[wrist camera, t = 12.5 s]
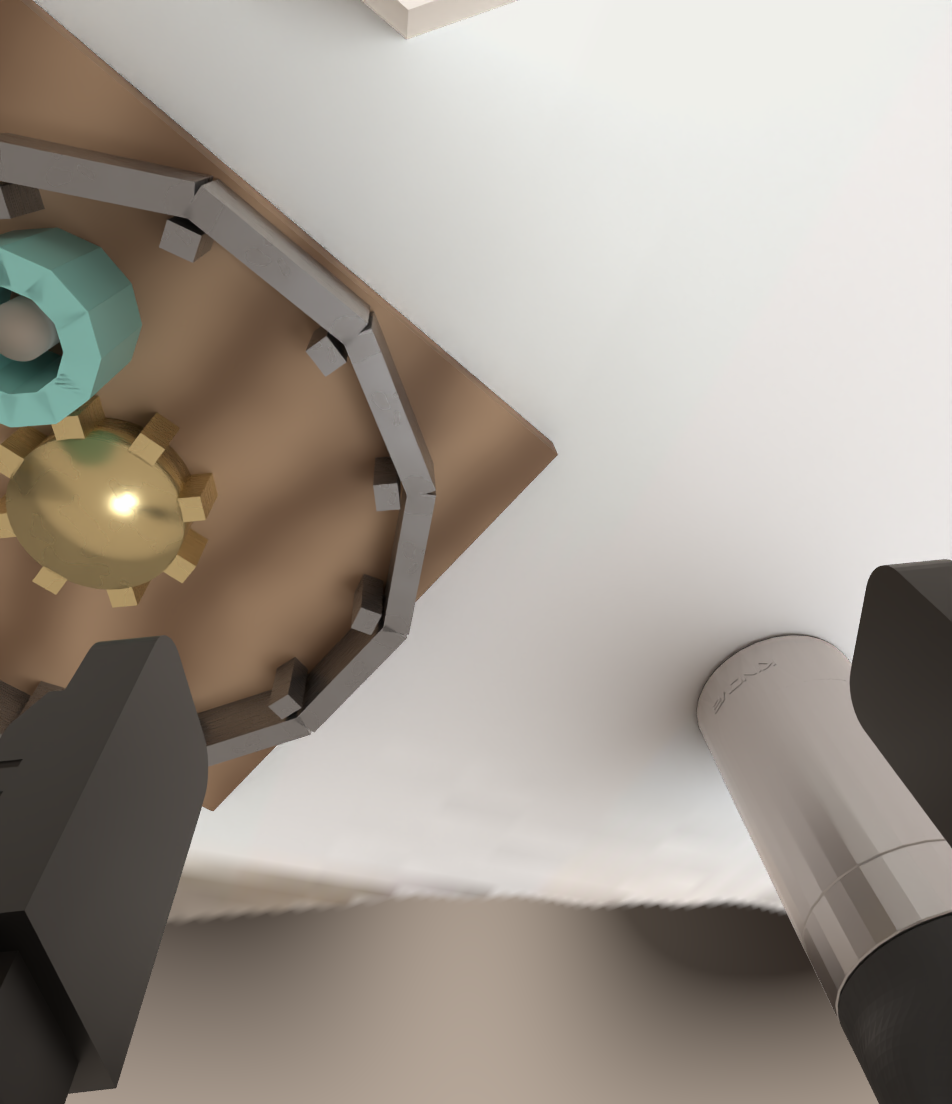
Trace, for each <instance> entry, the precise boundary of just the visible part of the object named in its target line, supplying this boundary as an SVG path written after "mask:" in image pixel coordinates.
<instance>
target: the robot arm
mask: <svg viewBox="0 0 952 1104" xmlns="http://www.w3.org/2000/svg"><path fill="white" fill-rule="evenodd" d="M697 719H698V726H699V728H700V730H701V733H702V735H703V737H704V739H705V742H706V744H707V746H708V748H709V750H710V752H711V754H712V756H713V758H714V761H715V763H716V765H717V767H718V769H719V771H720V773H721V775H722V778H723V780H724V782H725V784H726V787H727V789H728V791H729V793H730V795H731V797H732V799H733V801H734V803H735V805H736V807H737V810H738V812H739V814H740V816H741V818H742V820H743V822H744V824H745V826H746V828H747V831H748V833H749V835H750V837H751V839H752V841H753V843H754V845H755V847H756V849H757V851H758V854H759V856H760V858H761V860H762V862H763V864H764V866H765V868H766V870H767V872H768V874H769V877H770V879H771V881H772V883H773V885H774V887H775V889H776V891H777V893H778V895H779V898H780V900H781V902H782V904H783V906H784V908H785V910H786V912H787V914H788V916H789V918H790V921H791V923H792V925H793V927H794V929H795V931H796V933H797V935H798V937H799V939H800V942H801V944H802V946H803V948H804V950H805V952H806V953H807V955H808V957H809V960H810V962H811V964H812V966H813V968H814V970H815V972H816V974H817V976H818V978H819V980H820V982H821V985H822V987H823V989H824V991H825V993H826V995H827V997H828V999H829V1001H830V1003H831V1006H832V1007H833V1010H834V1012H835V1014H836V1016H837V1018H838V1020H839V1021H840V1024H841V1027H842V1029H843V1031H844V1033H845V1035H846V1037H847V1039H848V1041H849V1043H850V1045H851V1047H852V1049H853V1051H854V1053H855V1055H856V1057H857V1059H858V1061H859V1063H860V1065H861V1067H862V1069H863V1071H864V1073H865V1075H866V1077H867V1080H868V1081H869V1084H870V1086H871V1088H872V1090H873V1092H874V1094H875V1096H876V1098H877V1100H878V1102H879V1104H952V560H947V559H943V560H933V561H923V562H913V563H903V564H893V565H883V566H879V567H877V568H876V569H875V570H874V571H873V572H872V574H871V575H870V577H869V580H868V583H867V587H866V592H865V597H864V602H863V608H862V613H861V618H860V624H859V629H858V634H857V640H856V645H855V650H854V655H853V661H852V664H851V662H850V661H849V660H848V659H847V657H846V656H845V655H844V654H843V653H842V652H841V651H840V650H838V649H837V648H836V647H835V646H833V645H831V644H829V643H828V642H826V641H824V640H821V639H817V638H813V637H809V636H796V635H789V636H781V637H774V638H770V639H767V640H764V641H760V642H757V643H755V644H753V645H751V646H749V647H746V648H744V649H742V650H740V651H739V652H737V653H736V654H734V655H733V656H732V657H730V658H729V659H727V660H726V661H725V662H724V663H723V664H722V665H721V666H720V667H719V668H718V669H717V670H716V671H715V672H714V673H713V674H712V675H711V677H710V678H709V680H708V681H707V683H706V684H705V686H704V688H703V690H702V693H701V695H700V698H699V701H698V707H697ZM207 782H208V754H207V747H206V742H205V738H204V734H203V731H202V728H201V724H200V721H199V718H198V715H197V711H196V708H195V705H194V702H193V698H192V695H191V692H190V688H189V685H188V682H187V679H186V675H185V672H184V669H183V665H182V662H181V659H180V656H179V653H178V650H177V647H176V645H175V643H174V642H173V640H172V639H171V638H170V637H168V636H166V635H161V636H151V637H141V638H131V639H121V640H111V641H101V642H97V643H95V644H94V645H93V646H92V647H91V648H90V649H89V651H88V652H87V654H86V656H85V657H84V659H83V661H82V662H81V664H80V666H79V667H78V669H77V671H76V672H75V674H74V676H73V677H72V679H71V680H70V682H69V684H68V685H67V687H66V689H65V690H61V691H51V692H48V693H47V694H46V695H44V696H43V697H42V698H41V699H40V700H38V701H37V702H36V703H35V704H34V705H32V706H31V707H30V708H29V709H28V710H26V711H25V712H24V713H23V714H22V715H20V716H19V717H18V718H17V719H16V720H14V721H13V722H12V723H11V724H10V725H8V727H7V728H6V730H5V731H4V733H3V734H2V736H1V737H0V1104H64V1103H65V1101H66V1098H67V1095H68V1094H70V1093H78V1092H87V1091H95V1090H104V1089H113V1088H116V1087H117V1083H118V1080H119V1077H120V1074H121V1070H122V1067H123V1064H124V1061H125V1057H126V1054H127V1051H128V1047H129V1044H130V1041H131V1038H132V1034H133V1031H134V1027H135V1024H136V1021H137V1018H138V1014H139V1011H140V1008H141V1005H142V1002H143V998H144V995H145V992H146V988H147V985H148V982H149V978H150V975H151V972H152V968H153V965H154V962H155V959H156V956H157V952H158V949H159V946H160V942H161V939H162V936H163V933H164V929H165V926H166V923H167V919H168V916H169V913H170V910H171V906H172V903H173V900H174V896H175V893H176V890H177V887H178V883H179V880H180V877H181V873H182V870H183V867H184V864H185V860H186V857H187V854H188V850H189V847H190V844H191V841H192V837H193V834H194V831H195V827H196V824H197V821H198V818H199V814H200V811H201V808H202V804H203V801H204V798H205V794H206V789H207Z"/></svg>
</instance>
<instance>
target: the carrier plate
mask: <svg viewBox="0 0 952 1104" xmlns="http://www.w3.org/2000/svg"><path fill="white" fill-rule="evenodd" d="M0 133H12V134H16V135H21V136H26V137H31V138H35V139H40V140H45V141H50V142H55V143H59V144H64V145H69V146H74V147H78V148H83V149H88V150H93V151H97V152H102V153H107V154H112V155H117V156H121V157H126V158H131V159H136V160H140V161H145V162H150V163H155V164H159V165H164V166H169V167H174V168H179V169H183V170H188V171H193V172H198V173H202V174H207V175H212V176H213V181H215V180H217V179H220V180H221V181H222V182H224V183H225V184H226V185H227V186H228V187H230V188H231V189H232V190H233V191H234V192H235V193H237V194H238V195H239V196H240V197H241V198H243V199H244V200H245V201H246V202H247V203H249V204H250V205H251V206H252V207H253V208H255V209H256V210H257V211H258V212H259V213H261V214H262V215H263V216H264V217H265V218H266V219H268V220H269V221H270V222H271V223H272V224H274V225H275V226H276V227H277V228H278V229H280V230H281V231H282V232H283V233H284V234H286V235H287V236H288V237H289V238H290V239H291V240H293V241H294V242H295V243H296V244H297V245H299V246H300V247H301V248H302V249H303V250H305V251H306V252H307V253H308V254H309V255H311V256H312V257H313V258H314V259H315V260H316V261H318V262H319V263H320V264H321V265H322V266H324V267H325V268H326V269H327V270H328V271H330V272H331V273H332V274H333V275H334V276H336V277H337V278H338V279H339V280H340V281H341V282H343V283H344V284H345V285H346V286H347V287H349V288H350V289H351V290H352V291H353V292H355V293H356V294H357V295H358V296H359V297H361V298H362V299H363V300H364V301H365V302H366V303H368V304H369V305H370V312H372V311H374V312H375V314H376V317H377V320H378V322H379V325H380V327H381V330H382V332H383V335H384V338H385V340H386V343H387V345H388V348H389V350H390V353H391V356H392V358H393V361H394V363H395V366H396V368H397V371H398V373H399V376H400V379H401V381H402V384H403V386H404V389H405V391H406V394H407V397H408V399H409V402H410V404H411V407H412V409H413V412H414V414H415V417H416V420H417V422H418V425H419V427H420V430H421V432H422V435H423V438H424V440H425V443H426V445H427V448H428V450H429V453H430V455H431V458H432V461H433V464H434V476H435V487H436V499H435V504H434V509H433V514H432V520H431V525H430V530H429V535H428V540H427V545H426V550H425V555H424V560H423V565H422V570H421V575H420V580H419V585H418V590H417V595H416V600H415V602H416V601H417V600H418V599H419V598H420V597H421V596H422V595H423V594H424V593H425V592H426V591H427V589H428V588H429V587H430V586H431V585H432V584H433V583H434V582H435V581H436V580H437V579H438V578H439V577H440V576H441V575H442V574H443V573H444V572H445V571H446V570H447V569H448V568H449V567H450V566H451V565H452V564H453V563H454V562H455V561H456V559H457V558H458V557H459V556H460V555H461V554H462V553H463V552H464V551H465V550H466V549H467V548H468V547H469V546H470V545H471V544H472V543H473V542H474V541H475V540H476V539H477V538H478V537H479V536H480V535H481V534H482V533H483V532H484V531H485V529H486V528H487V527H488V526H489V525H490V524H491V523H492V522H493V521H494V520H495V519H496V518H497V517H498V516H499V515H500V514H501V513H502V512H503V511H504V510H505V509H506V508H507V507H508V506H509V505H510V504H511V503H512V502H513V501H514V499H515V498H516V497H517V496H518V495H519V494H520V493H521V492H522V491H523V490H524V489H525V488H526V487H527V486H528V485H529V484H530V483H531V482H532V481H533V480H534V479H535V478H536V477H537V476H538V475H539V474H540V473H541V472H542V471H543V469H544V468H545V467H546V466H547V465H548V464H549V463H550V462H551V461H552V460H553V459H554V458H555V457H556V456H557V455H558V454H557V452H556V449H555V447H554V445H553V443H552V442H551V441H550V440H549V439H548V438H547V437H545V436H544V435H543V434H542V433H541V432H539V431H538V430H537V429H536V428H535V427H534V426H532V425H531V424H530V423H529V422H528V421H527V420H525V419H524V418H523V417H522V416H521V415H519V414H518V413H517V412H516V411H515V410H514V409H512V408H511V407H510V406H509V405H508V404H507V403H505V402H504V401H503V400H502V399H501V398H499V397H498V396H497V395H496V394H495V393H494V392H492V391H491V390H490V389H489V388H488V387H487V386H485V385H484V384H483V383H482V382H481V381H479V380H478V379H477V378H476V377H475V376H474V375H472V374H471V373H470V372H469V371H468V370H467V369H465V368H464V367H463V366H462V365H461V364H459V363H458V362H457V361H456V360H455V359H454V358H452V357H451V356H450V355H449V354H448V353H447V352H445V351H444V350H443V349H442V348H441V347H439V346H438V345H437V344H436V343H435V342H434V341H432V340H431V339H430V338H429V337H428V336H427V335H425V334H424V333H423V332H422V331H421V330H419V329H418V328H417V327H416V326H415V325H414V324H412V323H411V322H410V321H409V320H408V319H407V318H405V317H404V316H403V315H402V314H401V313H399V312H398V311H397V310H396V309H395V308H394V307H392V306H391V305H390V304H389V303H388V302H387V301H385V300H384V299H383V298H382V297H381V296H380V295H378V294H377V293H376V292H375V291H374V290H372V289H371V288H370V287H369V286H368V285H367V284H365V283H364V282H363V281H362V280H361V279H360V278H358V277H357V276H356V275H355V274H354V273H352V272H351V271H350V270H349V269H348V268H347V267H345V266H344V265H343V264H342V263H341V262H340V261H338V260H337V259H336V258H335V257H334V256H332V255H331V254H330V253H329V252H328V251H327V250H325V249H324V248H323V247H322V246H321V245H320V244H318V243H317V242H316V241H315V240H314V239H312V238H311V237H310V236H309V235H308V234H307V233H305V232H304V231H303V230H302V229H301V228H300V227H298V226H297V225H296V224H295V223H294V222H292V221H291V220H290V219H289V218H288V217H287V216H285V215H284V214H283V213H282V212H281V211H280V210H278V209H277V208H276V207H275V206H274V205H272V204H271V203H270V202H269V201H268V200H267V199H265V198H264V197H263V196H262V195H261V194H260V193H258V192H257V191H256V190H255V189H254V188H252V187H251V186H250V185H249V184H248V183H247V182H245V181H244V180H243V179H242V178H241V177H240V176H238V175H237V174H236V173H235V172H234V171H232V170H231V169H230V168H229V167H228V166H227V165H225V164H224V163H223V162H222V161H221V160H220V159H218V158H217V157H216V156H215V155H214V154H212V153H211V152H210V151H209V150H208V149H207V148H205V147H204V146H203V145H202V144H201V143H200V142H198V141H197V140H196V139H195V138H194V137H192V136H191V135H190V134H189V133H188V132H187V131H185V130H184V129H183V128H182V127H181V126H180V125H178V124H177V123H176V122H175V121H174V120H172V119H171V118H170V117H169V116H168V115H167V114H165V113H164V112H163V111H162V110H161V109H160V108H158V107H157V106H156V105H155V104H154V103H153V102H151V101H150V100H149V99H148V98H147V97H145V96H144V95H143V94H142V93H141V92H140V91H138V90H137V89H136V88H135V87H134V86H133V85H131V84H130V83H129V82H128V81H127V80H125V79H124V78H123V77H122V76H121V75H120V74H118V73H117V72H116V71H115V70H114V69H113V68H111V67H110V66H109V65H108V64H107V63H105V62H104V61H103V60H102V59H101V58H100V57H98V56H97V55H96V54H95V53H94V52H93V51H91V50H90V49H89V48H88V47H87V46H85V45H84V44H83V43H82V42H81V41H80V40H78V39H77V38H76V37H75V36H74V35H73V34H71V33H70V32H69V31H68V30H67V29H65V28H64V27H63V26H62V25H61V24H60V23H58V22H57V21H56V20H55V19H54V18H53V17H51V16H50V15H49V14H48V13H47V12H45V11H44V10H43V9H42V8H41V7H40V6H38V5H37V4H36V3H35V2H34V1H33V0H0ZM0 182H3V181H0ZM39 191H40V195H41V198H42V201H43V205H44V208H45V209H43V210H39V211H36V212H32V213H28V214H25V215H21V216H18V217H14V218H11V219H0V234H4V233H7V232H10V231H13V230H26V229H40V228H55V227H58V228H60V229H62V230H64V231H66V232H69V233H71V234H73V235H75V236H77V237H79V238H82V239H84V240H86V241H88V242H90V243H93V244H95V245H97V246H99V247H101V248H102V249H103V250H104V252H105V253H106V254H107V255H108V256H109V257H110V259H111V260H112V261H113V262H114V263H115V264H116V266H117V267H118V268H119V269H120V270H121V271H122V273H123V274H124V275H125V276H126V277H127V279H128V280H129V281H130V282H131V284H132V287H133V290H134V294H135V298H136V302H137V306H138V310H139V314H140V318H141V322H142V327H141V331H140V334H139V337H138V340H137V344H136V347H135V350H134V353H133V356H132V360H131V361H130V362H129V363H128V364H127V365H126V366H125V367H124V368H123V369H122V370H121V371H119V372H118V373H117V374H116V375H115V376H114V377H113V378H112V379H111V380H110V381H109V382H108V383H107V384H105V385H104V386H103V387H102V388H101V389H100V390H99V391H98V392H97V393H96V394H95V395H94V396H99V397H100V401H101V404H102V407H103V411H104V414H105V417H107V418H116V419H120V420H125V421H128V422H131V423H134V424H137V425H139V426H141V427H144V428H145V426H146V425H147V424H148V423H149V422H150V420H151V419H152V418H153V417H154V415H155V414H156V413H157V412H158V413H159V414H161V415H162V416H164V417H165V418H167V419H168V420H170V421H171V422H172V423H174V424H175V425H177V426H178V427H180V429H179V430H178V432H177V433H176V435H175V436H174V437H173V439H172V440H171V442H170V443H169V445H170V446H171V447H172V448H173V449H174V450H175V451H176V452H177V453H178V455H179V456H180V457H181V458H182V460H183V461H184V463H185V464H186V466H187V468H188V470H189V472H190V474H203V473H213V477H214V481H215V485H216V489H217V494H218V496H217V498H216V500H215V502H214V504H213V506H212V509H211V511H210V513H209V515H208V517H207V519H206V520H202V521H193V523H192V525H191V529H193V530H194V531H196V532H197V533H199V534H200V535H202V536H204V537H205V538H207V539H208V541H207V544H206V546H205V548H204V550H203V553H202V555H201V557H200V559H199V561H198V564H197V566H196V567H195V569H194V570H193V571H192V572H191V574H190V575H189V576H188V577H187V578H186V580H185V581H184V582H183V583H181V582H179V581H177V580H176V579H174V578H172V577H171V576H169V575H168V574H166V573H164V572H162V573H161V574H160V575H158V576H157V577H155V578H153V579H152V580H151V581H150V583H149V585H148V587H147V589H146V591H145V592H144V594H143V596H142V598H141V600H140V602H139V604H138V605H136V606H125V607H114V608H112V605H111V602H110V599H109V596H108V593H107V590H106V589H96V588H90V587H85V586H82V585H78V584H75V583H72V582H70V581H66V582H65V584H64V585H63V586H62V588H61V589H60V590H59V592H58V593H57V594H56V595H55V594H54V593H52V592H50V591H48V590H46V589H45V588H43V587H41V586H39V585H38V584H36V583H34V582H32V581H33V579H34V578H35V577H36V575H37V574H38V573H39V571H40V570H41V568H42V567H43V566H42V565H40V564H39V563H38V562H37V561H35V560H34V559H33V558H32V557H31V556H30V555H29V554H28V553H27V551H26V550H25V549H24V548H23V546H22V545H21V544H20V542H19V541H18V539H17V537H9V538H0V680H1V681H3V682H5V683H7V684H9V685H11V686H13V687H15V688H17V689H19V690H21V691H23V692H25V693H27V694H29V695H31V696H32V694H33V693H34V691H35V690H36V688H37V687H38V685H39V683H40V682H41V681H43V682H46V683H50V684H53V685H56V686H60V687H63V688H66V687H67V685H68V684H69V682H70V680H71V679H72V677H73V676H74V674H75V672H76V671H77V669H78V667H79V666H80V664H81V662H82V661H83V659H84V657H85V656H86V654H87V652H88V651H89V649H90V648H91V647H92V646H93V645H94V644H95V643H97V642H101V641H111V640H121V639H131V638H141V637H151V636H161V635H166V636H168V637H170V638H171V639H172V640H173V642H174V643H175V645H176V647H177V650H178V653H179V656H180V659H181V662H182V665H183V669H184V672H185V675H186V679H187V682H188V685H189V688H190V692H191V695H192V698H193V702H194V705H195V708H196V711H197V713H200V712H203V711H207V710H210V709H213V708H216V707H219V706H222V705H225V704H228V703H231V702H234V701H238V700H241V699H244V698H247V697H250V696H253V695H256V694H259V693H262V692H265V691H269V690H272V688H273V683H274V679H275V674H276V670H277V668H278V667H280V666H281V665H283V664H284V663H286V662H288V661H289V660H291V659H293V658H294V657H296V658H297V659H298V660H299V661H300V662H301V663H302V664H303V665H304V666H305V667H306V668H307V669H308V673H307V675H308V674H309V673H310V672H311V671H312V669H313V668H314V667H315V666H316V665H317V664H318V663H319V662H320V661H321V660H322V659H323V658H324V657H325V656H326V655H327V654H328V652H329V651H330V650H331V649H332V648H333V647H334V646H335V645H336V644H337V643H338V642H339V641H340V640H341V639H342V638H343V637H344V636H345V634H346V633H347V632H348V631H349V630H350V629H351V621H352V611H353V601H354V593H355V591H356V589H357V587H358V585H359V583H360V581H361V578H362V576H363V574H366V575H369V576H372V577H374V578H377V579H380V580H382V581H383V594H384V593H385V588H386V582H387V577H388V571H389V565H390V560H391V554H392V548H393V543H394V537H395V531H396V526H397V520H398V514H399V509H398V510H387V511H376V503H375V496H374V488H373V481H374V468H375V458H378V457H390V454H389V451H388V449H387V446H386V444H385V442H384V439H383V437H382V435H381V432H380V430H379V427H378V425H377V423H376V420H375V418H374V415H373V413H372V411H371V408H370V406H369V403H368V401H367V399H366V396H365V394H364V391H363V389H362V387H361V384H360V382H359V379H358V377H357V375H356V372H355V370H354V367H353V365H352V363H351V360H350V358H349V356H348V357H347V362H346V363H345V364H343V365H342V366H340V367H339V368H338V369H336V370H335V371H333V372H332V373H330V374H329V375H328V376H326V377H325V376H324V374H323V373H322V372H321V370H320V369H319V368H318V367H317V365H316V364H315V363H314V361H313V360H312V359H311V358H310V356H309V355H308V354H307V353H306V349H307V346H308V344H309V341H310V339H311V336H312V334H313V332H314V331H315V330H317V329H318V328H319V327H321V325H319V324H318V323H317V322H316V321H314V320H313V319H312V318H311V317H309V316H308V315H307V314H306V313H304V312H303V311H302V310H301V309H299V308H298V307H297V306H296V305H294V304H293V303H292V302H291V301H289V300H288V299H287V298H286V297H285V296H283V295H282V294H281V293H280V292H278V291H277V290H276V289H275V288H273V287H272V286H271V285H270V284H268V283H267V282H266V281H265V280H263V279H262V278H261V277H260V276H258V275H257V274H256V273H255V272H253V271H252V270H251V269H250V268H248V267H247V266H246V265H245V264H243V263H242V262H241V261H240V260H239V259H237V258H236V257H235V256H234V255H232V254H231V253H230V252H229V251H227V250H226V249H225V248H224V247H222V246H221V245H220V244H219V243H217V242H216V241H215V240H214V241H213V244H212V247H211V250H210V251H208V252H207V253H206V254H204V255H203V256H202V257H200V258H199V259H197V260H196V261H195V262H193V263H192V262H190V261H187V260H185V259H183V258H181V257H179V256H177V255H175V254H172V253H170V252H168V251H166V250H164V249H162V248H159V245H160V242H161V238H162V235H163V232H164V228H165V225H166V222H167V219H170V218H172V217H174V216H173V215H168V214H163V213H158V212H153V211H148V210H143V209H138V208H133V207H128V206H123V205H118V204H113V203H108V202H103V201H98V200H93V199H88V198H83V197H78V196H73V195H68V194H63V193H58V192H53V191H48V190H43V189H39ZM47 350H48V351H51V352H53V353H55V354H58V355H60V356H62V355H63V349H62V346H61V343H60V340H59V336H58V333H57V330H56V327H55V324H54V323H53V322H52V321H51V319H50V318H49V317H48V316H47V315H46V314H45V313H44V312H43V311H42V310H41V309H40V308H39V307H38V305H37V304H36V303H35V302H34V301H33V300H32V299H29V298H27V297H25V296H22V295H20V294H18V293H16V292H13V291H12V292H11V296H10V300H9V301H7V302H5V303H3V304H1V305H0V354H2V355H3V356H5V357H7V358H9V359H12V360H15V361H30V360H33V359H35V358H37V357H38V356H40V355H41V354H43V353H44V352H46V351H47ZM32 427H34V428H35V429H37V430H38V431H40V432H41V433H43V434H45V435H46V436H49V435H50V434H51V433H52V432H53V428H52V425H51V424H49V425H37V426H32ZM19 428H21V427H8V426H6V425H3V424H0V444H1V443H3V442H4V441H5V440H6V439H7V438H9V437H10V436H11V435H12V434H13V433H15V432H16V431H17V430H18V429H19ZM9 480H10V478H8V477H7V476H5V475H4V474H2V473H0V499H1V498H2V497H3V496H4V495H5V494H6V492H7V486H8V483H9ZM402 492H403V485H402V482H401V490H400V503H401V497H402ZM276 746H277V745H276ZM276 746H272V747H269V748H266V749H263V750H260V751H257V752H253V753H250V754H247V755H244V756H241V757H238V758H234V759H231V760H228V761H225V762H222V763H219V764H215V765H212V766H209V767H208V782H207V789H206V794H205V798H204V801H203V804H202V806H203V807H205V808H207V809H209V810H211V811H214V810H215V809H216V808H217V807H218V806H219V805H220V804H221V803H222V802H223V801H224V799H225V798H226V797H227V796H228V795H229V794H230V793H231V792H232V791H233V790H234V789H235V788H236V787H237V786H238V785H239V784H240V783H241V782H242V781H243V780H244V779H245V778H246V777H247V776H248V775H249V774H250V773H251V772H252V771H253V769H254V768H255V767H256V766H257V765H258V764H259V763H260V762H261V761H262V760H263V759H264V758H265V757H266V756H267V755H268V754H269V753H270V752H271V751H272V750H273V749H274V748H275V747H276Z"/></svg>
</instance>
